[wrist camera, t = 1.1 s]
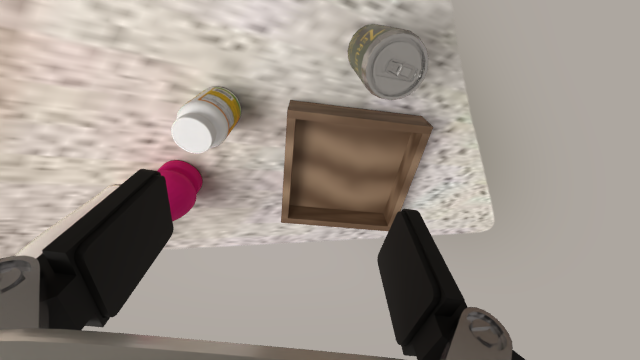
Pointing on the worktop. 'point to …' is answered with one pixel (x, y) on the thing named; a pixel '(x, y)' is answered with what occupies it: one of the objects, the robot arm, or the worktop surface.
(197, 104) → the supplement bottle
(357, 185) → the box
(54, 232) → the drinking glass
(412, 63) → the beer can
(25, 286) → the robot arm
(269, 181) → the worktop surface
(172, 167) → the pepper mill
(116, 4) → the worktop surface
